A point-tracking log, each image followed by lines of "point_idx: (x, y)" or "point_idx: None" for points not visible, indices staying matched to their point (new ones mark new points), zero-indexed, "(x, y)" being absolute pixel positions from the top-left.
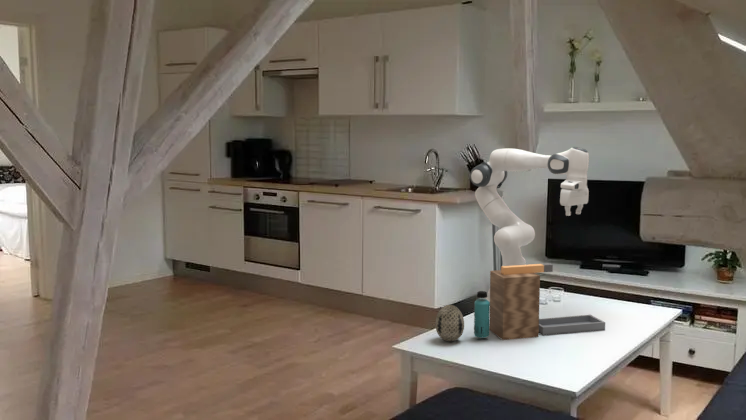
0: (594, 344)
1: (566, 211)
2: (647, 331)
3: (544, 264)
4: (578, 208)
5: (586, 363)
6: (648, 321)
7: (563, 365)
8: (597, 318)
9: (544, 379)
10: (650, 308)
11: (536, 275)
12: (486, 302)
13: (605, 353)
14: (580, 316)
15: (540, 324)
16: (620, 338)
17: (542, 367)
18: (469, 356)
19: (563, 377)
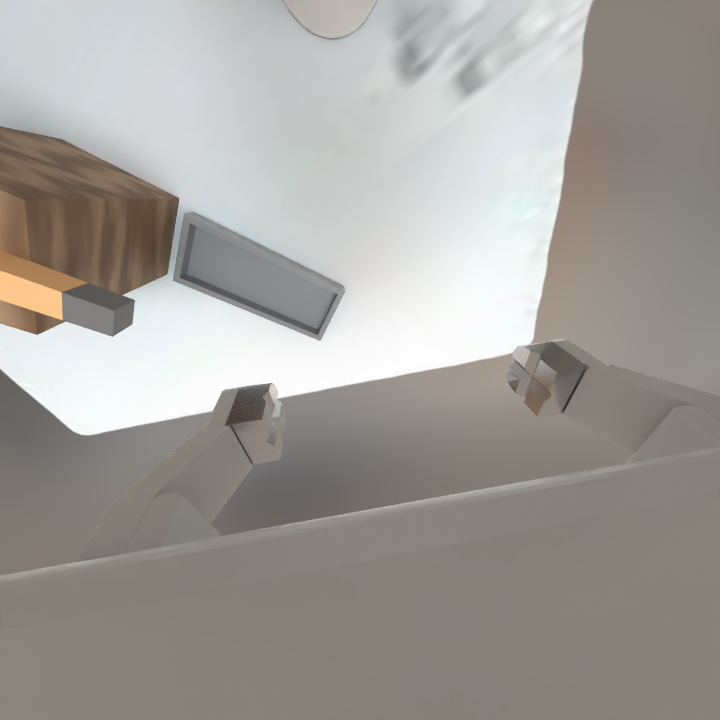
0: (239, 363)
1: (205, 439)
2: (370, 377)
3: (74, 311)
4: (611, 398)
5: (161, 399)
6: (426, 352)
7: (117, 386)
8: (331, 317)
9: (51, 401)
10: (517, 313)
11: (22, 323)
12: None
13: (221, 392)
14: (317, 284)
15: (182, 261)
16: (302, 371)
17: (74, 374)
18: None
19: (87, 410)
